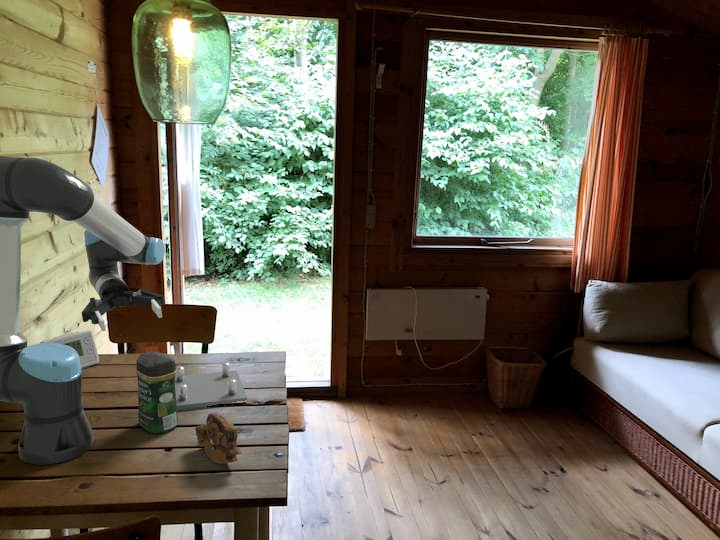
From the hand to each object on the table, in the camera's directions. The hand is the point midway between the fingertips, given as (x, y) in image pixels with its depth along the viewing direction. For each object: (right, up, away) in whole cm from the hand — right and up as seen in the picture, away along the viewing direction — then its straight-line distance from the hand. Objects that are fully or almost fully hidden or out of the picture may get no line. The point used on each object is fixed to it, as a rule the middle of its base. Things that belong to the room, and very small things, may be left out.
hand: (132, 319), depth 142 cm
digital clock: (-31, -18, +32) cm, 49 cm away
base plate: (+13, -22, +20) cm, 33 cm away
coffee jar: (+6, -27, 0) cm, 27 cm away
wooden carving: (+24, -30, -14) cm, 41 cm away
